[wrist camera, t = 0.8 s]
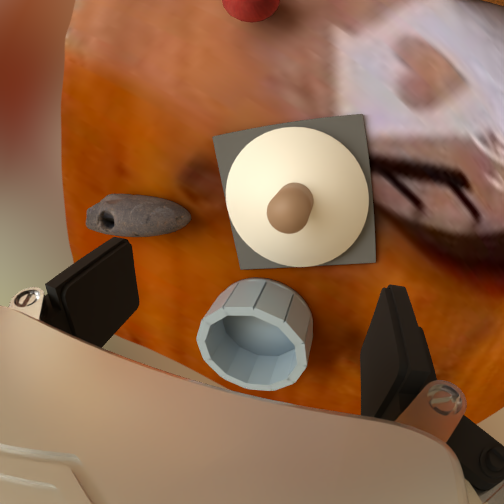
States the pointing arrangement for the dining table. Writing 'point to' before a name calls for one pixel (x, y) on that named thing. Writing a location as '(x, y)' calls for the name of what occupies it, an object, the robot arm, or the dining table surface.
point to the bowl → (257, 334)
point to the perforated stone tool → (136, 216)
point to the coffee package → (496, 2)
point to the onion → (251, 9)
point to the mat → (341, 129)
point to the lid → (297, 196)
